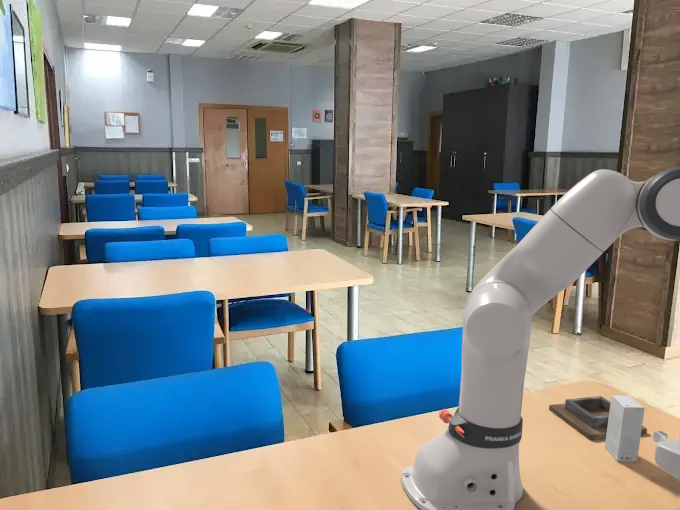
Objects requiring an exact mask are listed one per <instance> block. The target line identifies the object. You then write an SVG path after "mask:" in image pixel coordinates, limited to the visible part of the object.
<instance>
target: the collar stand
mask: <svg viewBox="0 0 680 510" xmlns="http://www.w3.org/2000/svg"><path fill="white" fill-rule="evenodd" d="M610 404H611V400H608V399H607V398H605V397H604V396H601V395H600V396H587V397H586V396H585V397H577V398H567V399H565V402H564V403H557V404H549V407H548V410H549V411H550V412H551V411H552V412H551V413H553V414H554V415H555V414H556V415H555V416H557V417H558V418H560V419H561V420H562V421H563V422H565V423H566V424H567V425H569V426H570V427H571V428H573V429H574V430H575V431H577V432H578V433H580V434H581V435H582V436H583V437H585V438H586V439H588V440H589V441H593V440H603V439H606V434H607V427H608V419H609V412H610ZM647 432H648V428H647V427H646V426H643V425H642V430H641V435H645V434H647Z"/></svg>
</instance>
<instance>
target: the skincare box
mask: <svg viewBox="0 0 680 510" xmlns="http://www.w3.org/2000/svg"><path fill="white" fill-rule="evenodd" d="M610 398H611V399H610V402H611V404H610V412H609V419H608V427H607V434H606V438H605V442H604V448H605V449H606V450H607V451H608V452H609V453H610V455H611V456H612V457H613V458H614V459H615V460H616V461H617V462H623V463H624V462H627V463H628V462H630V463H631V462H632V463H637V462H638V457H639V453H640V452H639V451H640V445H641V444H640V443H641V436H642V434H641V430H642V426H643V423H644V415H645V414H644V413H645V406H643V405H642V404H640V403H639V402H638V401H637V400H636V399H634V398H633V397H632V396H631V395H619V394H618V395H617V394H616V395H615V394H614V395H613V394H612V395H611V397H610Z"/></svg>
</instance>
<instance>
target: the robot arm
mask: <svg viewBox="0 0 680 510" xmlns="http://www.w3.org/2000/svg"><path fill="white" fill-rule="evenodd" d="M635 228H638V229H641V230H643V231H646V232H648V233H650V234H652V235H653V236H655V237H657V238H660V239H662V240H667V241H676V242H677V241H679V242H680V166H677V167H676V166H675V167H671V168H667V169H664V170H663V171H662V170H661V171H660V172H659V173H657V174H655V175H653V176H652V177H650V178H648V179H646V180H644V181H634V180H632V179H630V178H628V177H627V176H626V175H624V174H622V173H621V172H618V171H616V170H612V169H604V168H602V169H598V170H597V169H596V170H594V171H592V172H591V173H589V174H588V175H586V176H585V177H584V178H582V179H581V180H580V181H579V182H577V183H576V184H574V186H572V187H571V188H570V189H569V190H568V191H567V192H565V193H564V195H562V196H561V197H560V198H559V199H558V200H557V201H556V202H555V203H554V204H553V205H552V206H551V207H550V208H549V209H548V211H546V212H545V214H544V215H543V216H542V217H541V218H540V220H538V222H537V223H535V224H534V226H533V227H532V228H531V229H530V230H529V232H527V233H526V234H525V236H524V237H523V238H522V239H521V240H520V241H519V242H518V243H517V244H516V245H515V246H514V247H513V248H512V249H511V250H510V251H509V252H508V253H507V254H506V255H504V256H503V257H502V259H500V261H498V262H497V264H495V265H494V266H493V267H492V269H490V270H489V271H488V272H487V273H486V274H485V275H484V277H482V278H481V279H480V281H478V282H477V284H476V285H475V286H473V289H472V290H471V292H470V294H469V295H470V296H469V298H468V301H467V303H466V307H465V310H464V313H463V318H462V320H463V321H462V339H461V340H462V341H461V343H462V345H461V373H460V374H461V375H460V388H459V389H460V390H459V401H458V407H457V409H456V410H455V412H454V413H453V415H452V413H450V412H449V410H448V409H446V408H443V409H442V410H440V411H439V413H438V417H439V419H440V420H442V422H443V423H445V424H449V425H448V426H447V427H448V428H446V429H444V430H443V431H442V432H440V433H439V434H437V436H435V437H434V438H432V439H430V440H429V441H427V442H426V443H424V444H423V445H421V447H420V448H419V449H418V451H417V452H416V456H415V458H414V459H415V460H414V462H413V463H414V464H413V465H409V466H405V467H404V468H403V469H402V471H401V475H400V481H401V485H402V488H403V490H404V492H405V494H406V495H407V496H408V498H409V500H411V502H412V503H413V504H414V505H415V506H416V507H417V508H418V509H420V510H516V504H517V502H519V501H520V500H521V498H522V497H523V494H524V488H523V484H522V478H521V471H520V470H521V469H520V457H519V456H520V443H521V440H522V436H523V435H522V434H523V423H524V421H523V420H524V419H523V417H522V409H523V408H522V407H523V397H524V389H525V387H524V386H525V379H526V378H525V377H526V372H527V371H526V370H527V363H528V356H529V349H530V341H531V334H532V333H531V332H532V317H533V316H534V314H535V313H536V312H538V310H539V309H541V308H542V307H543V306H544V305H546V304H547V303H548V302H549V301H551V300H552V299H554V298H555V297H556V296H557V295H558V294H560V293H561V292H563V291H565V290H566V289H569V288H570V287H571V286H572V285H573V284H574V283H575V282H576V281H577V280H578V279H579V278H580V277H581V276H582V275H583V274H584V273H585V272H586V271H587V270H588V269H589V268H590V267H591V266H592V265H593V264H594V263H595V262H596V261H597V260H598V258H600V257H601V255H602V254H603V253H604V252H606V250H608V249H609V248H610V246H612V244H613V243H614V242H615V241H617V239H618V238H619V237H621V236H622V235H623V234H624V233H627V231H630V230H632V229H635ZM668 437H669V436H668V434H667V433H666V432H664V431H663V430H658V431H654V432H652V439H653V441H654V442H656V444H655V450H654V461H655V464H656V465H657V466H658V467H659V468H661V469H662V470H664V471H665V472H667V473H668V474H670V476H672V477H674V478H676V479H677V480H678V481H680V438H679V439H669V438H668Z"/></svg>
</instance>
